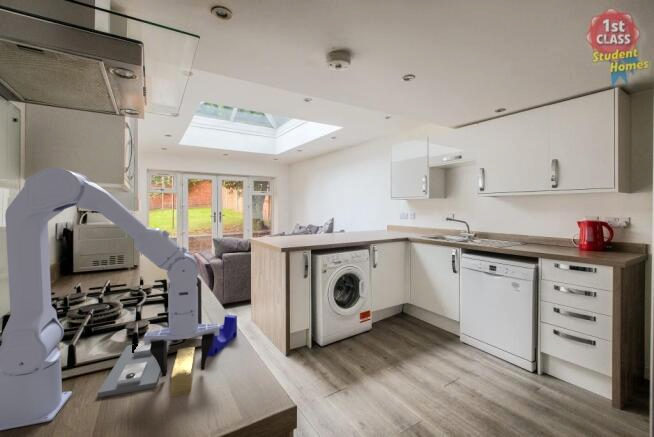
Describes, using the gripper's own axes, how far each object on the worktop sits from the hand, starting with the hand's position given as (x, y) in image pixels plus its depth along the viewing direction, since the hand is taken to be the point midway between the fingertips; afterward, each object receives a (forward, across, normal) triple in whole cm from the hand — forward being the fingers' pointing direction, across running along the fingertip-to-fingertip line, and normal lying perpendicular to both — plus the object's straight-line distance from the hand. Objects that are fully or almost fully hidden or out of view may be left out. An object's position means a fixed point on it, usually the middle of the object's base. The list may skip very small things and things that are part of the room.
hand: (184, 370), depth 64 cm
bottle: (+2, +1, -24) cm, 24 cm away
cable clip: (+2, -7, -14) cm, 15 cm away
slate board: (+1, +10, -8) cm, 13 cm away
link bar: (+2, 0, 0) cm, 2 cm away
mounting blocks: (+1, +10, -8) cm, 13 cm away
